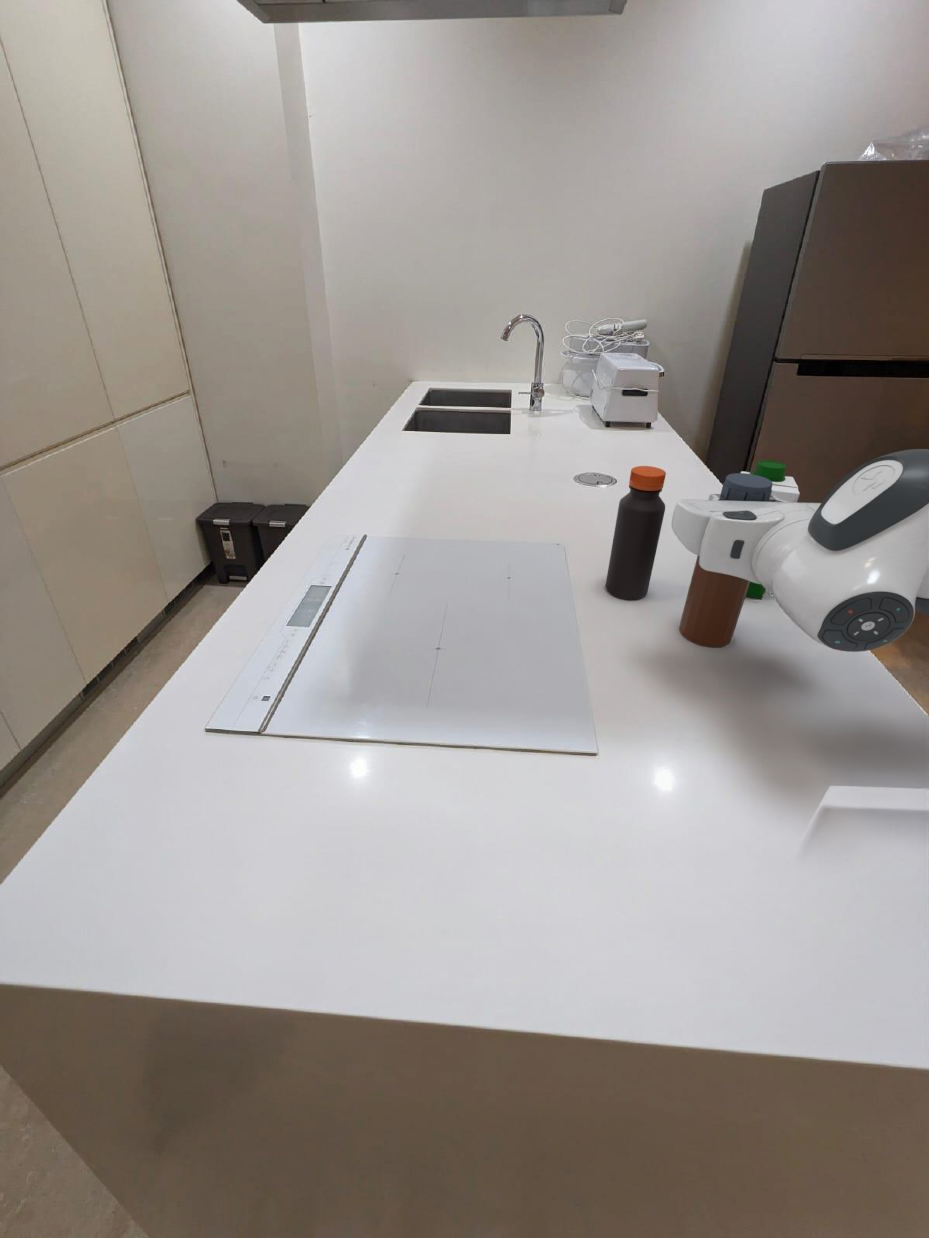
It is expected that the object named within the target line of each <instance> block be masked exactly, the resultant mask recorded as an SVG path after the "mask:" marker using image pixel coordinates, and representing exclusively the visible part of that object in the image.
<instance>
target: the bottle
mask: <svg viewBox="0 0 929 1238" xmlns="http://www.w3.org/2000/svg"><path fill="white" fill-rule="evenodd" d="M699 557H700V556H698V555H696V559H695V563H694V568H693V571H692V576H691V579H690V583H689V586H688V591H687V594H686V599H685V603H684V606H683V611H682V613H681V618H680V622H679V633H680V634H681V635H682V636H683V638H685V639H686V640H688V641H689V642H691V643H693V644H695V645H698V646H703V647H708V648H720V647H725V646H727V645H728V644H730V642H731V641H732V638H733V637H734V634H735V630H736V627H737V624H738V621H739V618H740V614H741V612H742V608H743V605H744V601H745V600H746V597H747V596H746V593H747V590H748V587H749V584H750V581H748V580H745V579H743V578H739V577H736V576H731V575H727V574H722V573H717V572H711V571H707V570H704V569H703V568H701V566H700V565H699Z"/></svg>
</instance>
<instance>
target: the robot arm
mask: <svg viewBox="0 0 929 1238" xmlns="http://www.w3.org/2000/svg"><path fill="white" fill-rule="evenodd" d="M725 499H726V498H725V497H724V496H723V495H722V494H721V493H710V494H709V496H708V499H687V498H685V499H680V500H679V501H678V502H676V504H675V506H674V510H673V513H672V518H671V530H672V532H673V533H674V535H675V536H676V538H677V539H678V541H679V542H680V543H681V544H682V545H683V547H685V549H686V550H688V552H690V553H692V554H694V555H696V556H700V557H699V565H700V566H701V568H703V569H704V570H707V571H711V572H717V573H722V574H727V575H731V576H736V577H739V578H743V579H745V580H748V581H751V582H753V583H757V584H761V585H762V586H763V587H764V588H765V589H766V591H768V592H769V593H771V594H772V595H773V598H774V600H775V602H776V604H777V605H778V606H779V607H780V609H781V610H782V611H783V612H784V613H785V615H786V616H787V617H788V618H789V619H790V620H791V621H792V622H793V623H794V624H795V626H796V627H798V628H799V629H800V630H801V631H802V632H804V633H805V635H806V636H808V637H809V638H810V639H812V640H814V641H815V642H817V643H819V644H821V645H823V646H825V647H827V648H829V649H832V650H834V651H835V650H836V651H840V652H846V653H847V652H848V653H849V652H851V653H858V652H859V653H861V652H866V651H867V652H868V651H872V650H876V649H879V648H882V647H885V646H887V645H889V644H891V643H893V642H894V641H897V639H900V637H901V636H903V635H904V634H905V633H906V632H907V631H908V630H909V628H910V627H911V625H912V623H913V621H914V619H915V615H916V614H915V613H916V611H917V612H918V613H920V614H922V615H924V616H926V617H929V449H928V448H913V449H904V450H899V451H894V452H890V453H887V454H884V455H881V456H878V457H876V458H873V459H870V460H868V461H866V462H864V463H863V464H861V465H859V466H857V467H856V468H854V469H853V470H852V471H851V472H849V473H848V474H847V475H845V477H843V478H842V479H841V480H840V481H839V482H838V483H837V484H836V485H835V486H834V487H833V488H832V489H831V491H830V492H829V493H828V494H827V495H826V496H825V497H824V499H823V500H822V502H798V501H797V502H788V501H784V500H780V499H779V498H778V497H776V496H773V495H771V496H770V499H769V502H760V501H725Z"/></svg>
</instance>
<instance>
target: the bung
mask: <svg viewBox="0 0 929 1238" xmlns="http://www.w3.org/2000/svg"><path fill="white" fill-rule="evenodd" d="M772 485H773V483H772V481H770V480H769V479H767V478H764V477H761V476H758V475H753V474H746V473H741V472H737V473H736V472H735V473H730V474H728V475H726V477H725V480H724V482H723V484H722V488H721V490H720V494H722V495H723V496H724V497H725V498H726V499H725V501H760V502H769V499H770V496H771V492H772V489H771V488H772Z"/></svg>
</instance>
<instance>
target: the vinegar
mask: <svg viewBox="0 0 929 1238" xmlns="http://www.w3.org/2000/svg"><path fill="white" fill-rule="evenodd" d="M666 475H667V472H666V471H665V470H664V469H662V468H659V467H656V466H652V465H651V466H650V465H637V466H634V467H632V468H631V470H630V475H629V481H628V488H629V492H628V493H627V494H626V495H624V496H623V497H621V499H620V500H619V502H618V508H617V514H616V520H615V526H614V532H613V538H612V545H611V551H610V556H609V562H608V569H607V574H606V575H607V576H606V580H605V589H606V591H607V592H608V593H609V594H610V595H612V596H613V597H616V598H619V599H622V600H639V599H642V598H644V597H646V595H647V594H648V591H649V587H650V583H651V578H652V574H653V568H654V562H655V559H656V554H657V549H658V546H659V545H658V544H659V540H660V536H661V530H662V527H663V526H662V525H663V522H664V518H665V517H664V516H665V511H666V503H665V502H664V500H663V499H662V498H661V496H660V493H662V491H663V488H664V484H665V480H666Z"/></svg>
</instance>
